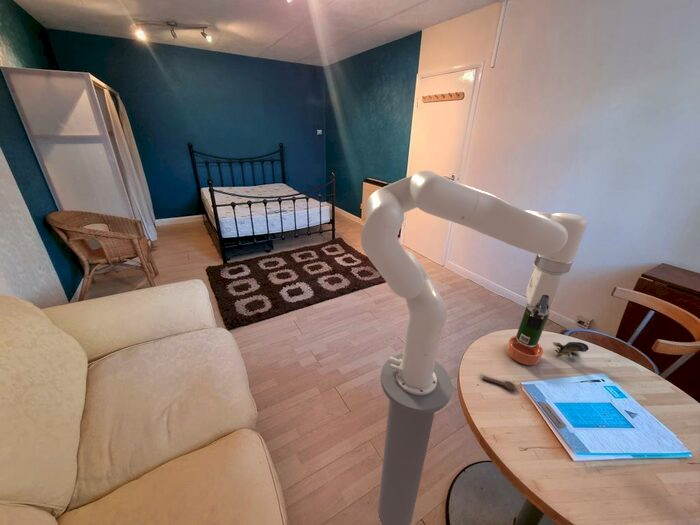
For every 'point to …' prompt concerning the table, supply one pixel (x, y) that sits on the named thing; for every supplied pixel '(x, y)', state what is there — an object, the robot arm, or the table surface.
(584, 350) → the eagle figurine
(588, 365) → the table surface
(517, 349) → the bowl
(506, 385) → the spoon
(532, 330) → the beer can
